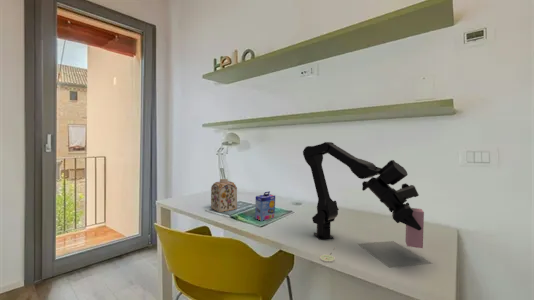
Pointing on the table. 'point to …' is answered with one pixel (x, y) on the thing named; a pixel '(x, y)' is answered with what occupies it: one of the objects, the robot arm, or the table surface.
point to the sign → (327, 258)
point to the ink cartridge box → (265, 207)
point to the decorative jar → (223, 196)
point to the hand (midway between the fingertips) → (419, 227)
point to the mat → (393, 254)
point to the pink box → (415, 230)
